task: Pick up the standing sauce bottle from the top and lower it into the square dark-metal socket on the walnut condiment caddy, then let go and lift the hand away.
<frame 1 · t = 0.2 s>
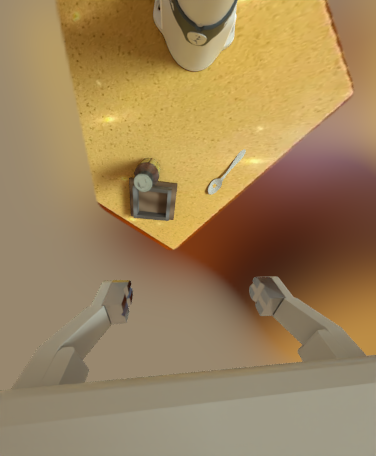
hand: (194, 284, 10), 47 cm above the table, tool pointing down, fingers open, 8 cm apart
spoon: (227, 169, 52), on the table
caddy: (153, 199, 55), on the table
sauce bottle: (151, 167, 49), on the table
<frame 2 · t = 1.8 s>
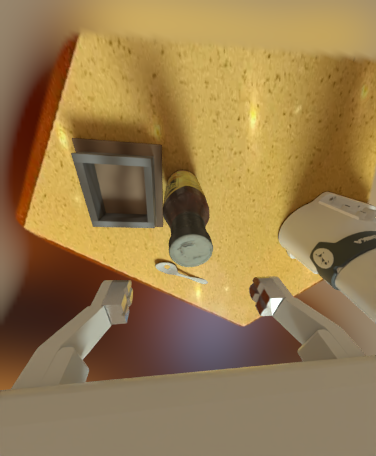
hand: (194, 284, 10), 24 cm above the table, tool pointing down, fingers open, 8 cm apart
spoon: (187, 273, 44), on the table
caddy: (126, 188, 29), on the table
sauce bottle: (182, 185, 30), on the table
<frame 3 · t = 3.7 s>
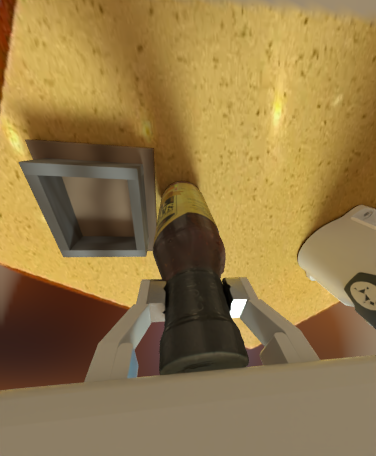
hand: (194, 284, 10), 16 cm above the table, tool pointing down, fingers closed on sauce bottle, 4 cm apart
caddy: (109, 204, 22), on the table
sauce bottle: (181, 200, 23), on the table, touching gripper
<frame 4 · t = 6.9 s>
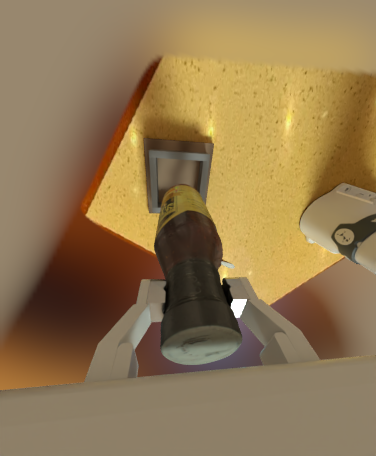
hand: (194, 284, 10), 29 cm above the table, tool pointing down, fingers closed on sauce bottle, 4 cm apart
spoon: (217, 258, 49), on the table
caddy: (178, 180, 35), on the table
sauce bottle: (181, 202, 24), point 12 cm above the table, touching gripper
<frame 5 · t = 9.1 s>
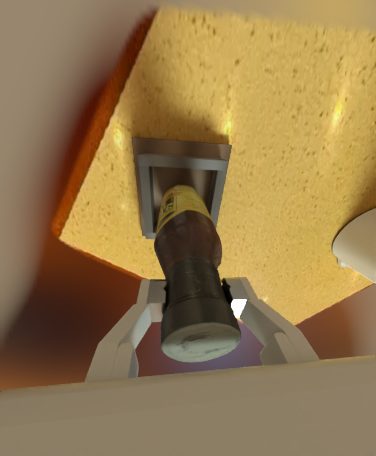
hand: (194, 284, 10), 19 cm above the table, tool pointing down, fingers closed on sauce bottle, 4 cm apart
caddy: (180, 194, 26), on the table
sauce bottle: (181, 202, 24), point 2 cm above the table, touching gripper
when the fingers open (17 cm above the table, at t = 10.4 s): sauce bottle stays where it is, resting on caddy.
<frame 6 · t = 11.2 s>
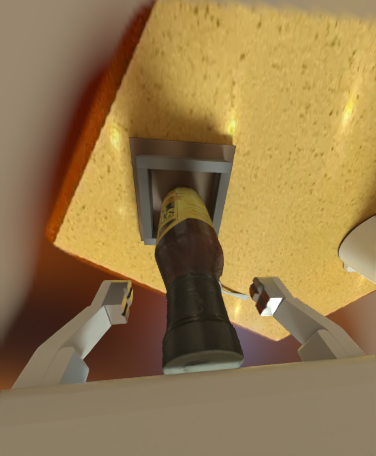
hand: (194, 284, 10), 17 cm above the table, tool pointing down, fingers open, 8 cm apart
spoon: (229, 289, 39), on the table
caddy: (181, 197, 24), on the table
sauce bottle: (182, 203, 24), point 1 cm above the table, touching caddy
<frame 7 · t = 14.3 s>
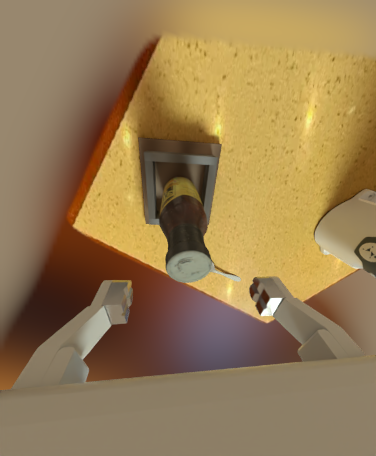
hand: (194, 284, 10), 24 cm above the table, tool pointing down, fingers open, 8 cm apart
spoon: (221, 270, 45), on the table
caddy: (179, 186, 30), on the table
sauce bottle: (179, 191, 29), point 1 cm above the table, touching caddy
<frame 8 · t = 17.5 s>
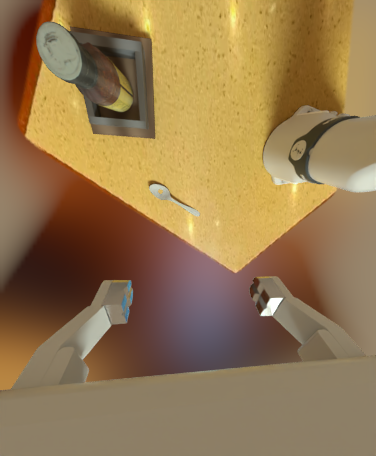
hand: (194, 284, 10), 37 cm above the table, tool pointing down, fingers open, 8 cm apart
spoon: (179, 202, 47), on the table
caddy: (120, 92, 32), on the table
sauce bottle: (120, 96, 32), point 1 cm above the table, touching caddy
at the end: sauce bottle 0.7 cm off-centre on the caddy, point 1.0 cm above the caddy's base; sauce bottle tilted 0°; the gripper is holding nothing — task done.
